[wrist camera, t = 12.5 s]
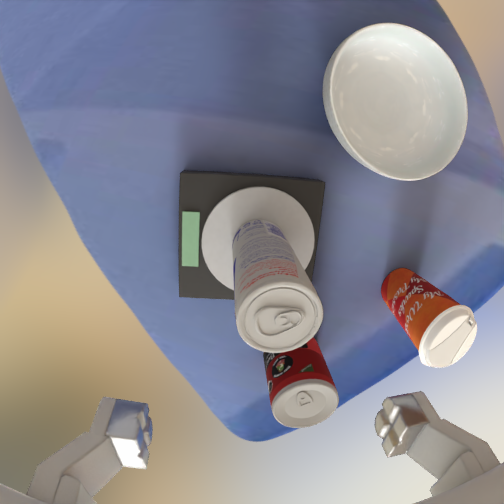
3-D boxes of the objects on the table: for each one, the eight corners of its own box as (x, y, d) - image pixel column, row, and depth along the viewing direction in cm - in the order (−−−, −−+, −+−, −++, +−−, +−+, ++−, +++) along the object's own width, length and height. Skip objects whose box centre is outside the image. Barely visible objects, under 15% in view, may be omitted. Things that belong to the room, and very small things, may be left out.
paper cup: (399, 249, 38) (462, 298, 25) (429, 278, 40) (488, 328, 27) (362, 295, 40) (410, 359, 27) (396, 319, 42) (444, 380, 29)
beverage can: (220, 245, 33) (216, 323, 19) (259, 207, 32) (283, 261, 18) (258, 278, 35) (277, 368, 21) (296, 243, 34) (340, 317, 20)
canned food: (297, 316, 40) (317, 371, 30) (327, 351, 43) (351, 405, 33) (250, 348, 42) (257, 407, 31) (284, 379, 44) (297, 436, 34)
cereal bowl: (349, 196, 36) (375, 210, 29) (282, 67, 30) (295, 50, 23) (451, 141, 34) (486, 145, 27) (399, 25, 28) (428, 9, 22)
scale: (183, 170, 33) (179, 173, 30) (319, 179, 35) (327, 183, 32) (181, 287, 38) (178, 299, 35) (303, 292, 39) (309, 304, 36)
